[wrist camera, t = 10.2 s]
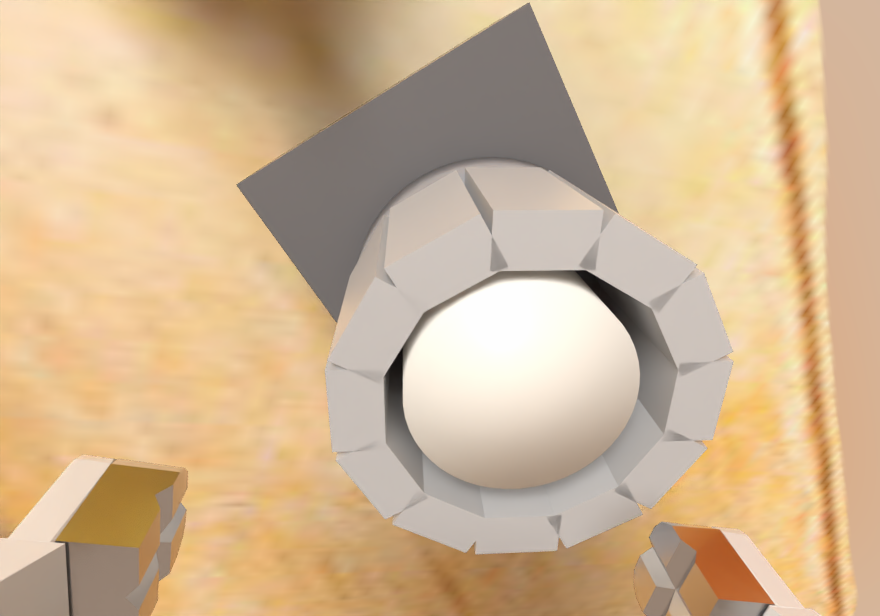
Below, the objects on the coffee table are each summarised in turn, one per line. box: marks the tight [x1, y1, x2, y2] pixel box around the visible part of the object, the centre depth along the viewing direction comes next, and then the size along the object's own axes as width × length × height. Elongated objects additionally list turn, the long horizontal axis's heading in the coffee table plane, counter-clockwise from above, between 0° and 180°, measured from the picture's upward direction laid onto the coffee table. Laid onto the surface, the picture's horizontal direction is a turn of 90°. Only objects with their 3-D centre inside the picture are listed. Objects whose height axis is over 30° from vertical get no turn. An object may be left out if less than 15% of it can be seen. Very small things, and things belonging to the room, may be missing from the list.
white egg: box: [403, 270, 640, 489], centre depth 14 cm, size 5×5×5 cm
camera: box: [237, 3, 733, 554], centre depth 18 cm, size 14×10×13 cm
